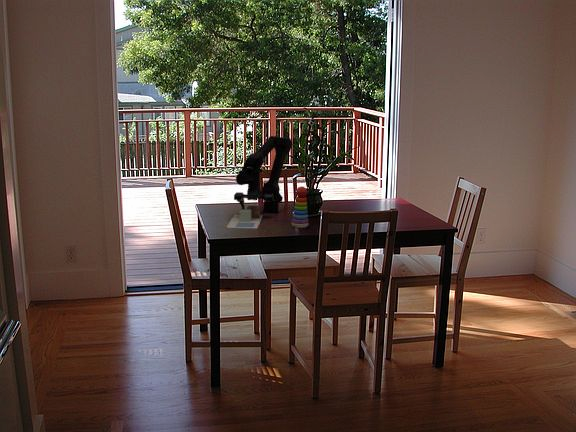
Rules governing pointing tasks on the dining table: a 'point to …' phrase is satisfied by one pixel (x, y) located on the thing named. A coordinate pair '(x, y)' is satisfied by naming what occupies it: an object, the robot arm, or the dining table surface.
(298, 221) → the stacking toy
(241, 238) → the dining table surface
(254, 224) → the build board
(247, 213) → the sage block
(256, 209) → the walnut block
